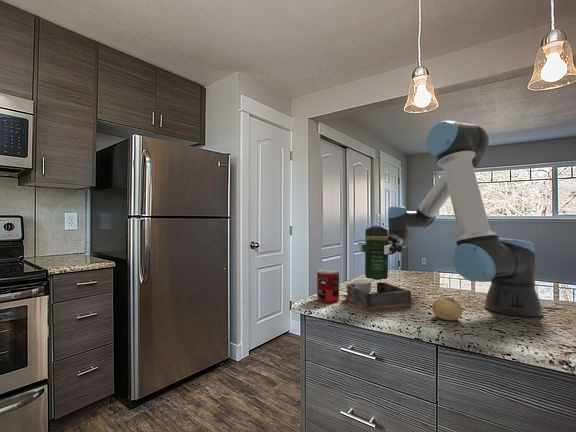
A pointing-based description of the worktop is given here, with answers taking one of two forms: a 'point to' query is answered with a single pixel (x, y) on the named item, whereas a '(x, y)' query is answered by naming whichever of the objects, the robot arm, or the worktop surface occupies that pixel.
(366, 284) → the teacup
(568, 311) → the worktop surface
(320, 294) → the canned food
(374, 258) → the coffee jar
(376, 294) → the tray
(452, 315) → the onion
